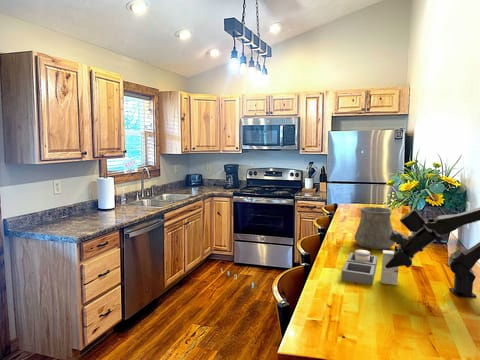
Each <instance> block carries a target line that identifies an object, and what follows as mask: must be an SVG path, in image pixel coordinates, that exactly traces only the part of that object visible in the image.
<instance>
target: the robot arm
mask: <svg viewBox="0 0 480 360" xmlns="http://www.w3.org/2000/svg"><path fill="white" fill-rule="evenodd" d="M479 221H480V207H477V208H473V209H470V210H467V211H463V212H461V213H455V214H444V215H438V216H435V217H434V218H423V217H422V216H421V215H420V214H419V212H418V211H417V209H412V210H411V211H409V212H408V213H405V214H404V215H403V216H402V217H400V219H399V222H400V223H401V225H403V226H404V227H405V228H406V229H407V230H408V231H409V232H410V233H412V232H413V233H415V234H413V235H408V236H406V235H405V234H403V233H401V232H399V231H397V230H396V229H393V231H392V233H391V235H390V236H389V239H390V240H391V241H394V242H395V244H394V250H393V251H394V257H393V258H392V259H391V260H390V261H389V262H388V263H387V264H386V266H385V267H386V268H392V267H398V266H399V267H405V268H407V269H409V268H410V267H411V266H413V258H415V255H417V254H418V253H419V252H420V253H422V252H423V251H424V249H425V248H426V247H428V246H429V245H431V244H432V243H433V242H435V241H436V242H437V244H439V245H441V244H442V238H443V237H442V236H443V235H448V234H450V233H451V232H454V231H456V230H457V229H459V228H460V227H462V226H466V225H469V224H472V223H476V222H479ZM395 230H396V231H395ZM479 260H480V241H479V242H477V243H476V244H474V245H473V246H471V247H469V248H468V249H465V250H463V249H462V248H461V247H459V248H457V249H456V251H454V252H452V253H450V255H449V257H448V260H447V263H448V266H449V269H450V271H451V272H452V273H453V274H454V277H453V278H454V279H453V287H449V289H448V290H449V291H450V292H451V293H453V294H454V295H455V296H456V297H459V298H477V297H478V296H477V294H475V293H474V292H473V289H474V282H475V279H476V275H475V273H474V270H473V268H474V267H475V266H476V264H477V262H478V261H479Z"/></svg>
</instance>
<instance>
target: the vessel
mask: <svg viewBox="0 0 480 360" xmlns="http://www.w3.org/2000/svg"><path fill="white" fill-rule="evenodd" d="M359 210H360V219H359V224H358V226H357V229H356V232H355V234H354V241H355V242H356V243H357V245H359V247H363V248H366V249H373V250H387V249H389V248H391V247H393V246H395V245H396V242H394V241H391V240H390V239H389V236H390V235H391V233H392V231H393V230H395V231H397V230H396V229H394V228H393V226H392V221H391V220H392V219H391V215H392V210H391V209H389V208H386V207H381V206H379V207H378V206H363V207H360V209H359Z"/></svg>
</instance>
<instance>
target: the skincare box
mask: <svg viewBox="0 0 480 360" xmlns="http://www.w3.org/2000/svg"><path fill="white" fill-rule="evenodd" d="M394 251H395V250H387V249H382V255H381V257H382V259H381V269H380V271H381V273H380V274H381V275H380V283H381V284H387V285H394V286H398V279H399V270H400V269H399V268H400V266H398V267H392V268H386V267H385V266H386V264H387V263H388V262H389V261H390V260H391V259H392V258H393V257H394Z"/></svg>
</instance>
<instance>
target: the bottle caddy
mask: <svg viewBox="0 0 480 360" xmlns="http://www.w3.org/2000/svg"><path fill="white" fill-rule="evenodd" d="M377 265H378V255H371V252H370V251H368V250H366V249H365V250H364V249H355V250H354V252H350V253H349V254H348V258H347V259H346V262H345V263H344V265H343V268H342V271H341V281H344V282H349V281H351V282H350V283H356V282H357V283H358V284H362V283H363V284H364V285H368V284H369V286H373V284H374V280H375V275H376V270H377ZM357 283H356V284H357ZM363 284H362V285H363Z"/></svg>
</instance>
